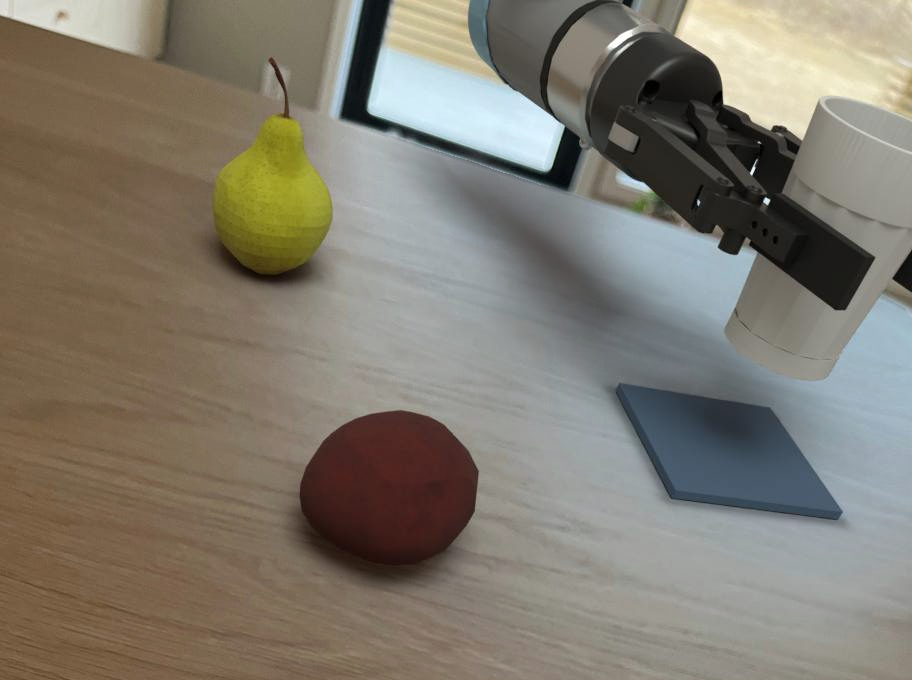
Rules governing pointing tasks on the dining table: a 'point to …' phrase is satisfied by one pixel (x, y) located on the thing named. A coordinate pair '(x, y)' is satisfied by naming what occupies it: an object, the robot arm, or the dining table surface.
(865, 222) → the cup
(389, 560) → the potato
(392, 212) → the dining table surface
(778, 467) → the mat
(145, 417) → the dining table surface
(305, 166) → the fruit
